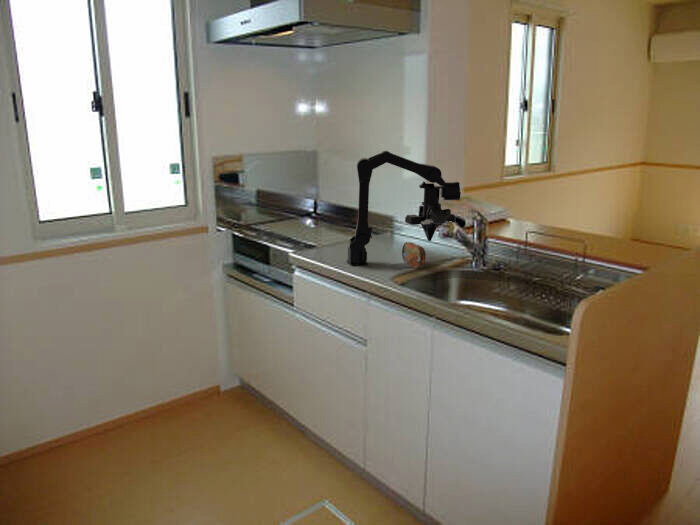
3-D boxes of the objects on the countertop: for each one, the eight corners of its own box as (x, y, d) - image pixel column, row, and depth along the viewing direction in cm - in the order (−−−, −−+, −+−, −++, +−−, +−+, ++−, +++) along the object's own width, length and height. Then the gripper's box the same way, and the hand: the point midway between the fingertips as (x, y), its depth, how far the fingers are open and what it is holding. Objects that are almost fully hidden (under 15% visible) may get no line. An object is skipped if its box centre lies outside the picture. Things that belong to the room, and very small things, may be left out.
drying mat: (396, 269, 202) (396, 268, 202) (389, 265, 207) (389, 264, 207) (412, 267, 204) (412, 266, 204) (404, 263, 210) (405, 262, 210)
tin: (401, 260, 214) (401, 240, 212) (408, 260, 215) (409, 239, 213) (418, 271, 200) (419, 248, 198) (426, 270, 201) (427, 248, 199)
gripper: (419, 204, 193) (417, 247, 197) (464, 202, 199) (461, 243, 203) (405, 200, 203) (403, 240, 207) (449, 197, 209) (446, 237, 213)
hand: (429, 240), depth 207 cm, fingers closed
